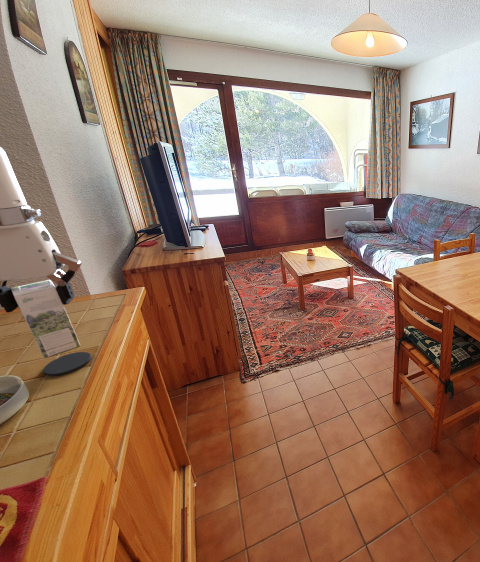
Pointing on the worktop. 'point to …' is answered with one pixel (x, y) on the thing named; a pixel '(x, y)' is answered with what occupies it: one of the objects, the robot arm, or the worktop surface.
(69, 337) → the syrup box
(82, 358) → the coaster
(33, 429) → the worktop surface
